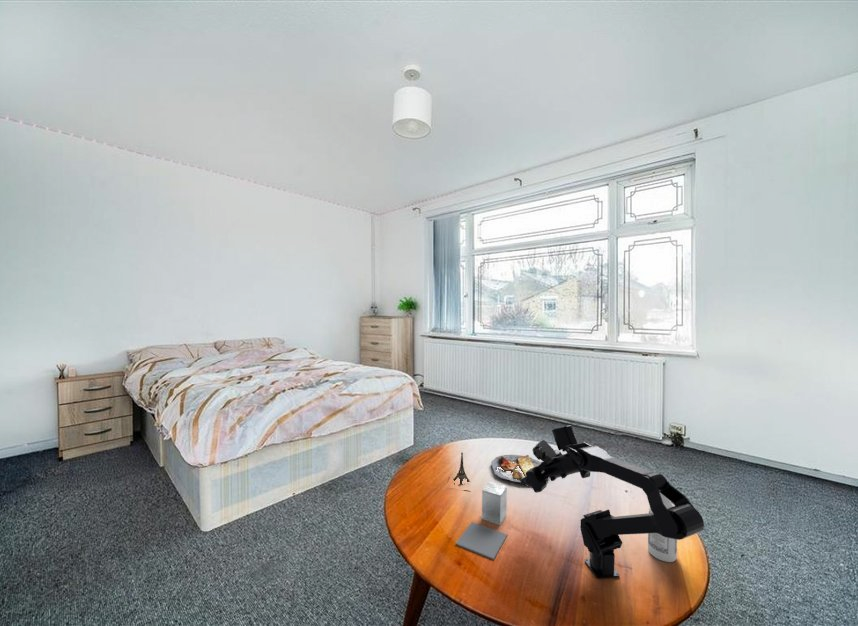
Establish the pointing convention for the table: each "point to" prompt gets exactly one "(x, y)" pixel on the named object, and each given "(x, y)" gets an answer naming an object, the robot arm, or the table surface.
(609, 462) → the robot arm
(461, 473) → the eiffel tower figurine
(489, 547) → the rubber mat
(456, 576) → the table surface
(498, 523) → the silver grey block
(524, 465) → the food plate
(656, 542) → the bath foam
